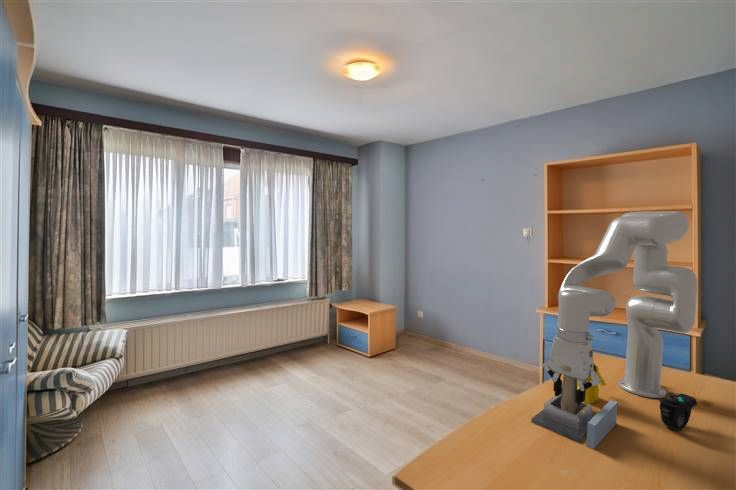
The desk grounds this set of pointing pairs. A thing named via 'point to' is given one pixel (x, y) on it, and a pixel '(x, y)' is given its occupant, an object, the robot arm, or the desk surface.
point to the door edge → (601, 424)
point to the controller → (676, 410)
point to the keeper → (565, 419)
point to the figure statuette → (593, 388)
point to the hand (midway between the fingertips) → (568, 398)
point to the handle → (568, 391)
